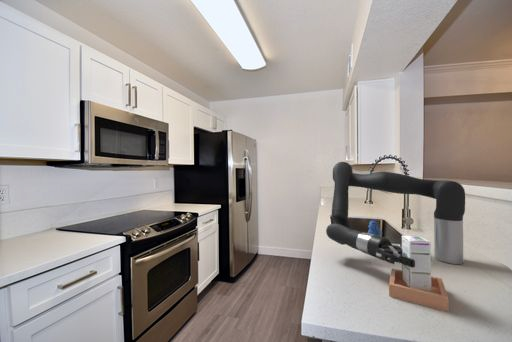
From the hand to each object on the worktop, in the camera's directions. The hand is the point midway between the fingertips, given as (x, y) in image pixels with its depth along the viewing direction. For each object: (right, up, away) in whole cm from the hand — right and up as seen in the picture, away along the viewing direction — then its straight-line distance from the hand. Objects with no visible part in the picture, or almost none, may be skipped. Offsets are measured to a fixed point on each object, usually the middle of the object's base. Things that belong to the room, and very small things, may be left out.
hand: (422, 261), depth 66 cm
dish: (-1, -10, +2) cm, 10 cm away
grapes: (+12, -11, +49) cm, 52 cm away
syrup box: (-1, -8, +2) cm, 8 cm away
